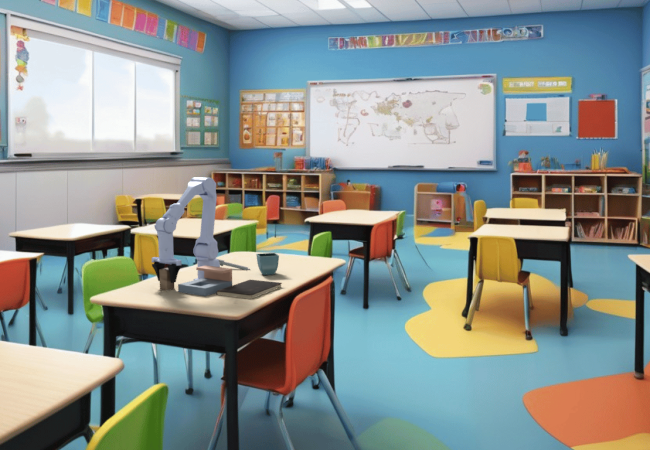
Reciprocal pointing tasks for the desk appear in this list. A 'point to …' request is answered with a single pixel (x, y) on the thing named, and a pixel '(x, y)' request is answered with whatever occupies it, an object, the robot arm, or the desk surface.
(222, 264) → the caliper
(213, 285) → the socket block
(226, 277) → the salmon pink block
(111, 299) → the desk surface
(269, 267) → the flower pot
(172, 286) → the walnut peg
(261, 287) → the hardcover book
